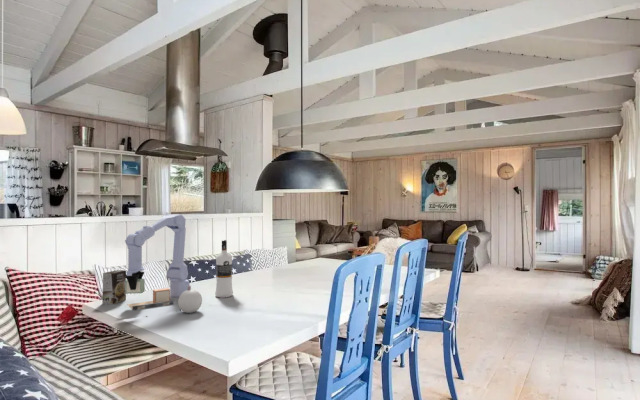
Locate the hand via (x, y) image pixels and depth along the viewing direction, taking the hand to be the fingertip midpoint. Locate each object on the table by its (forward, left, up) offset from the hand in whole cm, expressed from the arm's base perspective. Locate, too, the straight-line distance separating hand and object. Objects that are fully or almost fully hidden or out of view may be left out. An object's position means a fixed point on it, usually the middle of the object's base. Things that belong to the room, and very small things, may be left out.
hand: (135, 288), depth 179 cm
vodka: (-44, -1, -10) cm, 45 cm away
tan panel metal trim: (-7, -2, -10) cm, 12 cm away
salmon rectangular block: (-13, -3, -9) cm, 16 cm away
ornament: (-19, +20, -10) cm, 30 cm away
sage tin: (0, 0, -2) cm, 2 cm away
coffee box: (+6, -18, -10) cm, 21 cm away
